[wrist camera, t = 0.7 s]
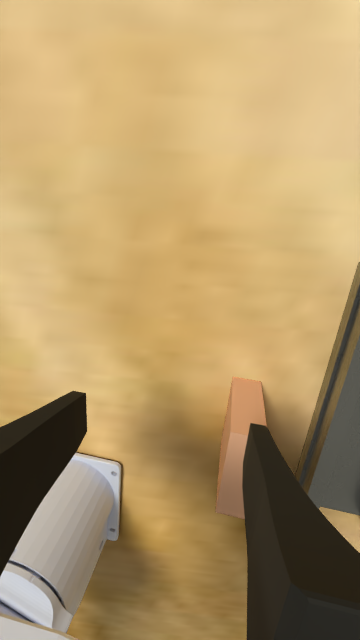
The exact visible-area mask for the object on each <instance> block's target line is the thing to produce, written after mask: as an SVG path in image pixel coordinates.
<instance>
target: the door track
mask: <svg viewBox="0 0 360 640" xmlns="http://www.w3.org/2000/svg"><path fill="white" fill-rule="evenodd" d="M295 478H296V479H297V481H298V482H299V484H300V485H301V487H302V488H303V489H304V491H305V492H306V494H307V495H308V496H309V498H310V499H311V500H312V502H313V503H314V504H315V505H316V507H317V508H318V509H319V507H320V506H321V507H325V508H329V509H334V510H338V511H343V512H347V513H352V514H356V515H360V262H359V263H358V266H357V270H356V273H355V276H354V280H353V283H352V286H351V290H350V293H349V297H348V300H347V303H346V307H345V310H344V313H343V317H342V320H341V323H340V327H339V330H338V333H337V337H336V340H335V344H334V347H333V350H332V354H331V357H330V360H329V364H328V367H327V370H326V374H325V377H324V380H323V384H322V387H321V391H320V394H319V397H318V401H317V404H316V407H315V411H314V414H313V417H312V421H311V424H310V427H309V431H308V434H307V438H306V441H305V444H304V448H303V451H302V454H301V458H300V461H299V464H298V468H297V471H296V474H295Z"/></svg>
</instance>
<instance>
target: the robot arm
mask: <svg viewBox="0 0 360 640" xmlns="http://www.w3.org/2000/svg"><path fill="white" fill-rule="evenodd" d="M86 432H87V415H86V393H81V392H76V391H72V392H70V393H68V394H66V395H64V396H62V397H60V398H58V399H56V400H54V401H52V402H51V403H49V404H47V405H45V406H43V407H41V408H39V409H37V410H35V411H34V412H32V413H30V414H28V415H26V416H23V417H21V418H19V419H17V420H15V421H13V422H11V423H9V424H7V425H4V426H2V427H0V640H79V639H77V638H75V637H72V636H70V635H68V634H66V633H67V630H68V628H69V625H70V623H71V620H72V618H73V616H74V614H75V613H76V611H77V609H78V607H79V605H80V603H81V601H82V598H83V596H84V593H85V591H86V588H87V586H88V583H89V581H90V579H91V576H92V574H93V571H94V569H95V566H96V564H97V561H98V559H99V557H100V554H101V552H102V549H103V547H104V544H105V542H106V539H108V540H111V541H116V540H117V539H118V536H119V514H120V487H121V465H120V464H119V463H118V462H115V461H110V460H106V459H102V458H97V457H93V456H89V455H84V454H80V453H76V451H77V449H78V448H79V446H80V444H81V442H82V440H83V438H84V436H85V434H86ZM242 490H243V503H244V515H245V527H246V539H247V557H248V588H247V640H360V553H359V552H358V551H357V550H356V549H355V548H354V547H353V546H352V545H351V544H350V543H349V542H348V541H347V540H346V539H345V538H344V537H343V536H342V535H341V534H340V533H339V532H338V531H337V530H336V529H335V527H334V526H333V525H332V524H331V523H330V522H329V521H328V520H327V519H326V518H325V516H324V515H323V514H322V513H321V512H320V510H319V509H318V508H317V507H316V505H315V504H314V503H313V502H312V500H311V499H310V498H309V496H308V495H307V494H306V492H305V491H304V489H303V488H302V487H301V485H300V484H299V482H298V481H297V479H296V478H295V476H294V475H293V473H292V472H291V470H290V468H289V467H288V465H287V463H286V462H285V460H284V458H283V457H282V455H281V453H280V451H279V450H278V448H277V446H276V444H275V442H274V440H273V438H272V436H271V434H270V432H269V430H268V428H267V427H266V426H265V425H259V424H254V423H250V428H249V433H248V438H247V444H246V449H245V454H244V459H243V477H242Z"/></svg>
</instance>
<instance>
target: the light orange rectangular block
mask: <svg viewBox="0 0 360 640" xmlns="http://www.w3.org/2000/svg"><path fill="white" fill-rule="evenodd" d="M250 423H254V424H259V425H265V426H266V427H267V424H266V416H265V409H264V401H263V393H262V386H261V382H260V381H255V380H249V379H243V378H238V377H233V378H232V384H231V389H230V395H229V400H228V406H227V412H226V417H225V423H224V429H223V434H222V440H221V448H220V461H219V473H218V486H217V498H216V511H215V512H217V513H221V514H225V515H229V516H233V517H238V518H242V519H245V515H244V503H243V490H242V477H243V459H244V454H245V449H246V444H247V438H248V433H249V428H250Z"/></svg>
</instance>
